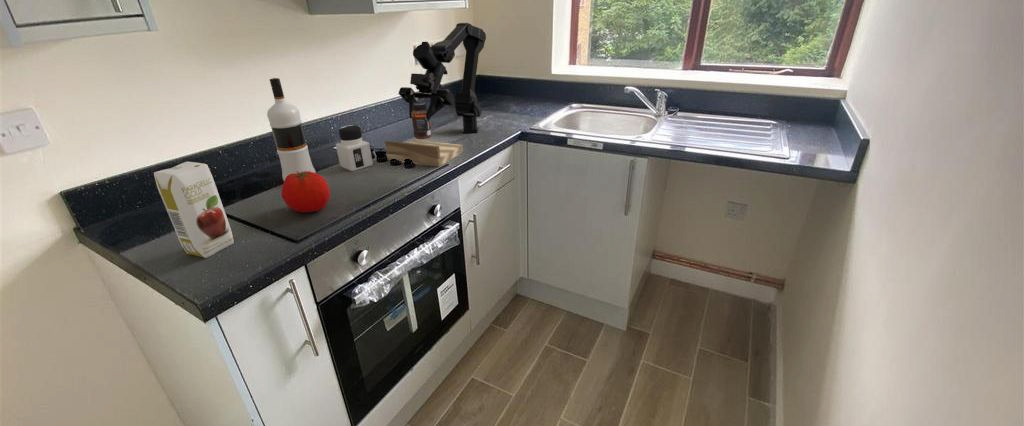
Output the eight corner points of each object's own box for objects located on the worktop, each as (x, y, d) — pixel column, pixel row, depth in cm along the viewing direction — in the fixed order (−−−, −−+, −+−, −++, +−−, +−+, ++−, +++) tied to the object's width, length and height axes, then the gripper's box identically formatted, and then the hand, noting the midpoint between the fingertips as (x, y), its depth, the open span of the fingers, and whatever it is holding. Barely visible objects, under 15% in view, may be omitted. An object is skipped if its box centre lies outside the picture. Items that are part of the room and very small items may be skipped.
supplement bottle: (435, 137, 148) (431, 103, 143) (418, 140, 145) (413, 106, 140) (428, 133, 152) (424, 100, 147) (412, 136, 150) (407, 102, 145)
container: (373, 165, 145) (366, 126, 139) (351, 171, 140) (343, 131, 134) (361, 160, 150) (354, 122, 144) (339, 166, 145) (331, 127, 139)
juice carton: (180, 255, 96) (146, 173, 87) (216, 237, 103) (188, 159, 94) (205, 261, 93) (171, 177, 85) (240, 241, 100) (213, 162, 92)
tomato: (309, 197, 122) (300, 162, 118) (344, 204, 117) (336, 168, 113) (274, 214, 113) (263, 177, 109) (310, 222, 108) (300, 184, 104)
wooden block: (414, 146, 162) (412, 129, 159) (463, 151, 154) (461, 133, 152) (387, 160, 148) (384, 141, 146) (439, 166, 141) (437, 147, 138)
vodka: (278, 186, 131) (248, 81, 117) (292, 174, 139) (266, 76, 126) (309, 185, 130) (282, 80, 117) (321, 173, 139) (298, 75, 126)
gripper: (397, 62, 145) (381, 103, 141) (446, 63, 138) (431, 106, 134) (414, 82, 155) (400, 121, 151) (460, 84, 148) (447, 125, 144)
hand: (418, 118), depth 145 cm, fingers closed on supplement bottle, 6 cm apart
